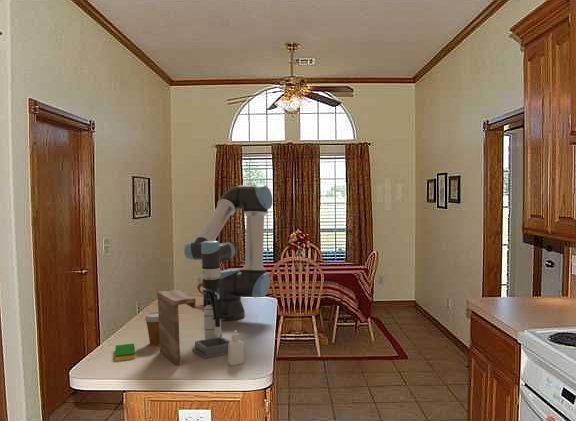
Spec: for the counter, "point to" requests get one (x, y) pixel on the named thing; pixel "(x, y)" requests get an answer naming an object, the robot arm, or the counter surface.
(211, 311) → the syrup box
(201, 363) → the counter surface
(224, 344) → the socket
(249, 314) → the counter surface
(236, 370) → the counter surface
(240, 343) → the eye dropper bottle
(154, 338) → the disposable coffee cup
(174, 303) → the brown l-shaped bracket
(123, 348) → the dish sponge
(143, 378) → the counter surface
